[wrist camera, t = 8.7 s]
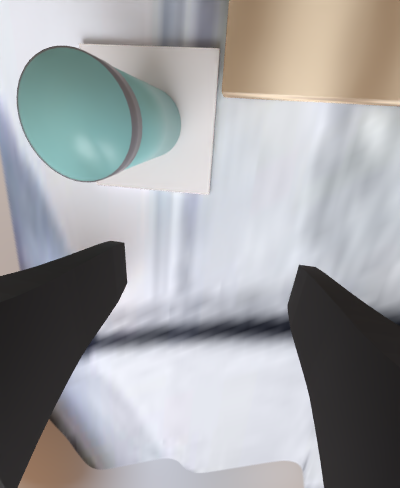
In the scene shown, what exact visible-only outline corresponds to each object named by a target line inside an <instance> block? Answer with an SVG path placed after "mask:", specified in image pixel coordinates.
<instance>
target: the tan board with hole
mask: <svg viewBox="0 0 400 488" xmlns="http://www.w3.org/2000/svg"><path fill="white" fill-rule="evenodd" d="M222 94H223V96H224V97H228V98H247V99H267V100H286V101H305V102H324V103H344V104H363V105H382V106H400V0H229V8H228V20H227V32H226V45H225V57H224V69H223V82H222Z"/></svg>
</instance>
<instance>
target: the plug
mask: <svg viewBox="0 0 400 488" xmlns="http://www.w3.org/2000/svg"><path fill="white" fill-rule="evenodd" d="M17 109H18V115H19V119H20V123H21V126H22V129H23V131H24V134H25V136H26V138H27V140H28V142H29V143H30V145H31V147H32V148H33V150H34V151H35V152H36V154H37V155H38V156H39V157H40V158H41V160H42V161H43V162H44V163H46V164H47V165H48V166H49V167H50V168H51V169H53V170H54V171H55V172H57V173H59V174H60V175H62V176H64V177H66V178H69V179H72V180H75V181H80V182H96V181H100V180H103V179H106V178H108V177H111V176H113V175H116V174H118V173H120V172H121V171H123V170H125V169H128V168H130V167H133V166H136V165H138V164H141V163H143V162H146V161H148V160H151V159H153V158H156V157H159V156H161V155H164V154H166V153H167V152H169V151H170V150H171V149H172V148H173V147H174V146H175V144H176V143H177V141H178V138H179V136H180V131H181V118H180V114H179V111H178V108H177V106H176V104H175V102H174V101H173V100H172V98H171V97H170V96H169V95H168V94H167V93H165V92H164V91H162V90H160V89H158V88H156V87H154V86H152V85H150V84H148V83H146V82H144V81H142V80H140V79H138V78H136V77H134V76H131V75H129V74H127V73H125V72H123V71H121V70H119V69H117V68H115V67H113V66H111V65H110V64H109V63H107V62H106V61H104V60H102V59H100V58H98V57H96V56H94V55H92V54H90V53H88V52H86V51H84V50H81V49H78V48H75V47H70V46H54V47H49V48H47V49H44V50H42V51H40V52H39V53H37V54H36V55H35V56H33V57H32V58H31V59H30V60H29V62H28V63H27V64H26V66H25V68H24V70H23V71H22V74H21V76H20V79H19V83H18V88H17Z"/></svg>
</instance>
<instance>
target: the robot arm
mask: <svg viewBox="0 0 400 488" xmlns="http://www.w3.org/2000/svg"><path fill="white" fill-rule="evenodd" d="M126 284H127V274H126V260H125V246H124V243H122V242H114V241H108V242H104V243H101V244H98V245H95V246H93V247H90V248H87V249H84V250H82V251H79V252H76V253H74V254H71V255H68V256H66V257H63V258H60V259H57V260H54V261H51V262H48V263H45V264H42V265H39V266H36V267H33V268H29V269H26V270H22V271H19V272H15V273H11V274H7V275H3V276H0V488H18V485H19V483H20V481H21V478H22V476H23V474H24V472H25V469H26V467H27V465H28V462H29V460H30V458H31V456H32V454H33V451H34V449H35V447H36V444H37V443H38V440H39V438H40V436H41V434H42V432H43V430H44V428H45V426H46V424H47V422H48V420H49V418H50V415H51V413H52V411H53V409H54V407H55V405H56V403H57V401H58V399H59V398H60V396H61V394H62V392H63V390H64V388H65V386H66V384H67V382H68V380H69V378H70V376H71V375H72V373H73V371H74V369H75V367H76V365H77V364H78V362H79V360H80V358H81V356H82V355H83V353H84V352H85V350H86V348H87V347H88V345H89V344H90V342H91V341H92V339H93V338H94V337H95V335H96V334H97V332H98V331H99V329H100V328H101V326H102V325H103V323H104V322H105V321H106V319H107V318H108V316H109V315H110V313H111V312H112V310H113V309H114V307H115V306H116V304H117V303H118V301H119V299H120V297H121V295H122V293H123V291H124V289H125V287H126ZM288 315H289V322H290V328H291V332H292V336H293V339H294V343H295V346H296V350H297V353H298V357H299V360H300V364H301V367H302V370H303V374H304V377H305V381H306V385H307V389H308V393H309V397H310V402H311V408H312V413H313V419H314V424H315V430H316V436H317V442H318V449H319V455H320V461H321V468H322V475H323V483H324V488H400V326H399V325H397V324H395V323H394V322H392V321H391V320H389V319H387V318H386V317H384V316H383V315H381V314H380V313H379V312H377V311H376V310H374V309H373V308H371V307H370V306H368V305H367V304H365V303H364V302H363V301H361V300H360V299H358V298H357V297H356V296H354V295H353V294H352V293H350V292H349V291H348V290H346V289H345V288H344V287H342V286H341V285H340V284H338V283H337V282H336V281H334V280H333V279H332V278H330V277H329V276H328V275H326V274H325V273H324V272H322V271H321V270H319V269H318V268H316V267H311V266H303V265H299V267H298V271H297V274H296V278H295V281H294V285H293V288H292V292H291V295H290V299H289V302H288Z"/></svg>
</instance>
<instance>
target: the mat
mask: <svg viewBox="0 0 400 488" xmlns="http://www.w3.org/2000/svg"><path fill="white" fill-rule="evenodd" d="M79 47H80V49H81V50H84V51H86V52H88V53H90V54H92V55H94V56H96V57H98V58H100V59H102V60H104V61H106V62H107V63H109V64H110V65H111V66H113V67H115V68H117V69H119V70H121V71H123V72H125V73H127V74H129V75H131V76H134V77H136V78H138V79H140V80H142V81H144V82H146V83H148V84H150V85H152V86H154V87H156V88H158V89H160V90H162V91H164V92H165V93H167V94H168V95H169V96H170V97H171V98H172V100H173V101H174V102H175V104H176V106H177V108H178V111H179V114H180V118H181V131H180V136H179V138H178V141H177V143H176V144H175V146H174V147H173V148H172V149H171V150H170V151H169V152H167V153H166V154H164V155H161V156H159V157H156V158H153V159H151V160H148V161H146V162H143V163H141V164H138V165H136V166H133V167H130V168H128V169H125V170H123V171H121V172H120V173H118V174H116V175H113V176H111V177H108V178H106V179H103V180H100V181H96V182H97V185H104V186H115V187H126V188H137V189H149V190H160V191H171V192H182V193H193V194H204V195H209V192H210V179H211V165H212V152H213V138H214V124H215V111H216V97H217V84H218V70H219V57H220V48H196V47H166V46H136V45H106V44H79Z"/></svg>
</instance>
